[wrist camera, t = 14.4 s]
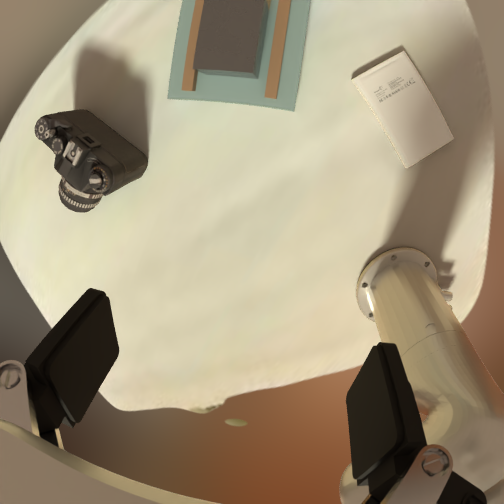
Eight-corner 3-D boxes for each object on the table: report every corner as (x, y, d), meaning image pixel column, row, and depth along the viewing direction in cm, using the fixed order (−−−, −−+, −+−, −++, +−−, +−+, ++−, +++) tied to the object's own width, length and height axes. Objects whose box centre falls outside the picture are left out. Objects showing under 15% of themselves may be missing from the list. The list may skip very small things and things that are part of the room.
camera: (56, 164, 37) (11, 181, 28) (83, 102, 33) (35, 106, 24) (120, 216, 40) (81, 246, 31) (156, 154, 35) (116, 170, 27)
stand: (310, -8, 24) (313, -21, 20) (293, 111, 31) (294, 111, 28) (195, -14, 25) (184, -26, 21) (176, 99, 32) (163, 98, 28)
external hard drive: (402, 166, 33) (349, 80, 29) (449, 137, 30) (400, 51, 26) (407, 169, 31) (352, 78, 28) (455, 138, 28) (405, 49, 25)
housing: (258, 79, 27) (252, 73, 23) (206, 74, 28) (192, 69, 23) (270, -1, 23) (267, -18, 18) (219, -4, 23) (208, -20, 19)
